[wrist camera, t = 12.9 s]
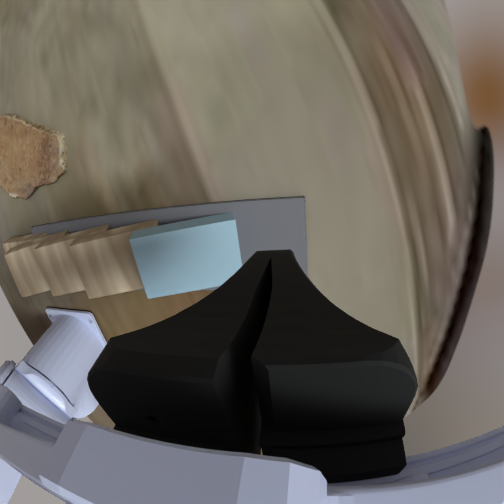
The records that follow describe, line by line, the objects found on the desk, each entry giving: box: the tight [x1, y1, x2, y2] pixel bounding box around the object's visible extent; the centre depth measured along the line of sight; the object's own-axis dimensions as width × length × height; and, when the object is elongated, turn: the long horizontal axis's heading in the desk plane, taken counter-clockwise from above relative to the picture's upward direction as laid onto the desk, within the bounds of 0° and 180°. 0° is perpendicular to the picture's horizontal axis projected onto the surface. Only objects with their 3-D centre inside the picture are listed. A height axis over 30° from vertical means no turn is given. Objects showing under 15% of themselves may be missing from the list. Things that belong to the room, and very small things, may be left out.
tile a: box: [69, 219, 159, 299], centre depth 21 cm, size 2×5×7 cm
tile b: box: [34, 224, 111, 297], centre depth 21 cm, size 2×5×7 cm
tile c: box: [4, 230, 69, 298], centre depth 22 cm, size 2×5×7 cm
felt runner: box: [30, 196, 307, 290], centre depth 23 cm, size 7×26×1 cm, turn 96°
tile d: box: [2, 232, 48, 253], centre depth 24 cm, size 2×5×7 cm
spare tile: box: [129, 212, 242, 299], centre depth 20 cm, size 2×5×7 cm
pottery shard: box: [0, 114, 67, 199], centre depth 19 cm, size 8×16×2 cm, turn 65°
